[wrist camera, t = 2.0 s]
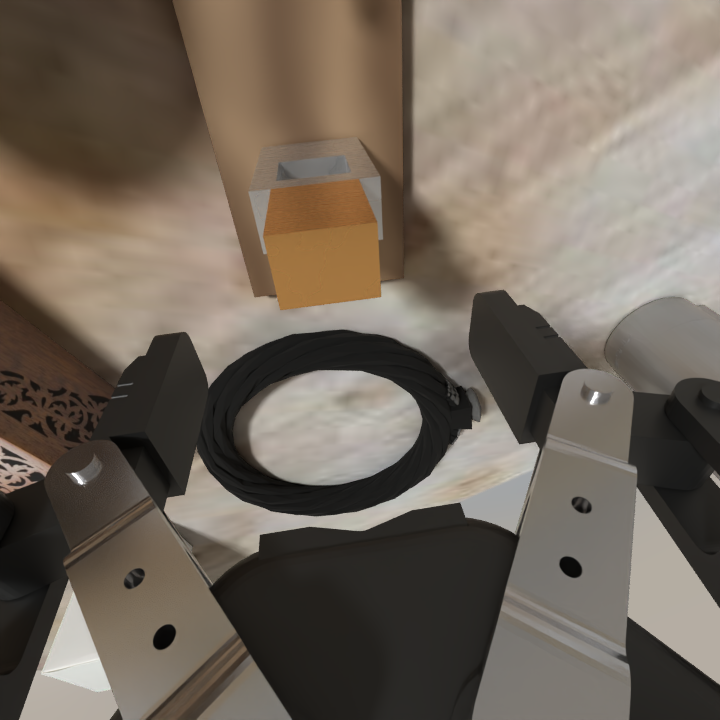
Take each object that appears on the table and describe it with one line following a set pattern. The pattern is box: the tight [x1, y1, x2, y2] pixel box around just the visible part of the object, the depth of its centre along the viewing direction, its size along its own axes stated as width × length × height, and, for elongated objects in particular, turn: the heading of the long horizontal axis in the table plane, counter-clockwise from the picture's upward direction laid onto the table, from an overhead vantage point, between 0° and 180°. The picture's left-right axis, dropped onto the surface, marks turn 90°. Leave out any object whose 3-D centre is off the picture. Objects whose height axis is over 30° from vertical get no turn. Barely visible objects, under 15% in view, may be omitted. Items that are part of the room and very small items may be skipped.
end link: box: [248, 137, 383, 310], centre depth 23 cm, size 6×9×15 cm, turn 4°
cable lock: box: [197, 330, 481, 516], centre depth 44 cm, size 28×4×30 cm
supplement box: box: [41, 539, 193, 692], centre depth 48 cm, size 9×9×15 cm
